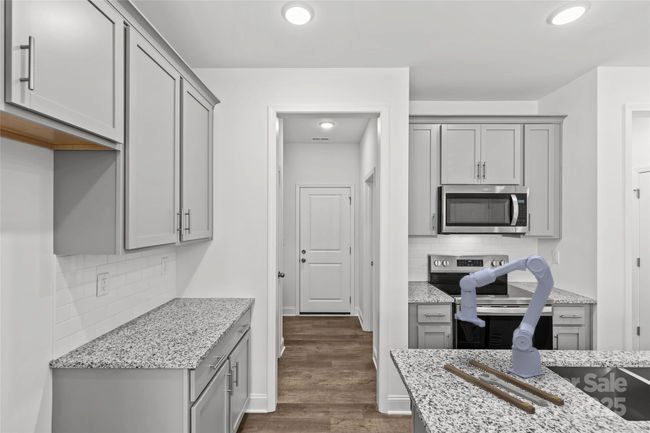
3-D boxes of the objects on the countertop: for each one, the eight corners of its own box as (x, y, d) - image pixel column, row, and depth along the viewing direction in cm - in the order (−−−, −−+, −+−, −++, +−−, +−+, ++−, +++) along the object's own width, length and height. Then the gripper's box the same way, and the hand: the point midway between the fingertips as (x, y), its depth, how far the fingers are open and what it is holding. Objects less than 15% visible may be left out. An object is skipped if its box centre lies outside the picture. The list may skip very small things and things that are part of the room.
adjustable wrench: (550, 407, 112) (550, 401, 112) (534, 411, 110) (534, 405, 110) (488, 376, 136) (488, 371, 136) (474, 379, 134) (474, 374, 134)
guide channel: (472, 363, 148) (472, 359, 148) (564, 405, 113) (564, 399, 113) (443, 368, 143) (443, 364, 143) (530, 414, 108) (529, 408, 108)
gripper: (448, 303, 152) (449, 337, 152) (474, 310, 139) (475, 347, 138) (462, 302, 155) (463, 335, 155) (488, 309, 141) (490, 345, 141)
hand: (469, 340), depth 147 cm, fingers closed
